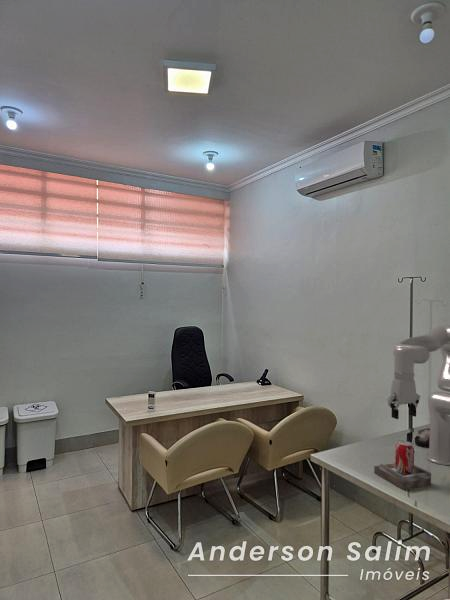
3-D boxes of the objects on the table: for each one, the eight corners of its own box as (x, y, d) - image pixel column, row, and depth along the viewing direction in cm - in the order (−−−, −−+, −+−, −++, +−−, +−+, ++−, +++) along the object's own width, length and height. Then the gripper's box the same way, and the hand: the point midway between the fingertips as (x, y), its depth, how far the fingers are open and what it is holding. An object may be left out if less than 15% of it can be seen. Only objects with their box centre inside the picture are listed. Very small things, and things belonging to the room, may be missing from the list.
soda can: (402, 476, 156) (403, 446, 156) (390, 469, 163) (391, 440, 163) (417, 475, 158) (418, 445, 158) (405, 468, 165) (406, 439, 165)
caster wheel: (421, 453, 199) (410, 443, 209) (442, 448, 200) (430, 438, 210) (419, 440, 198) (409, 431, 208) (441, 436, 199) (429, 427, 209)
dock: (400, 469, 171) (400, 457, 171) (430, 485, 156) (431, 473, 156) (374, 473, 166) (374, 461, 167) (403, 490, 151) (403, 477, 152)
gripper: (412, 373, 172) (412, 412, 172) (381, 376, 166) (381, 416, 166) (426, 376, 165) (426, 417, 165) (395, 379, 159) (394, 421, 159)
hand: (403, 416), depth 165 cm, fingers open, 9 cm apart
